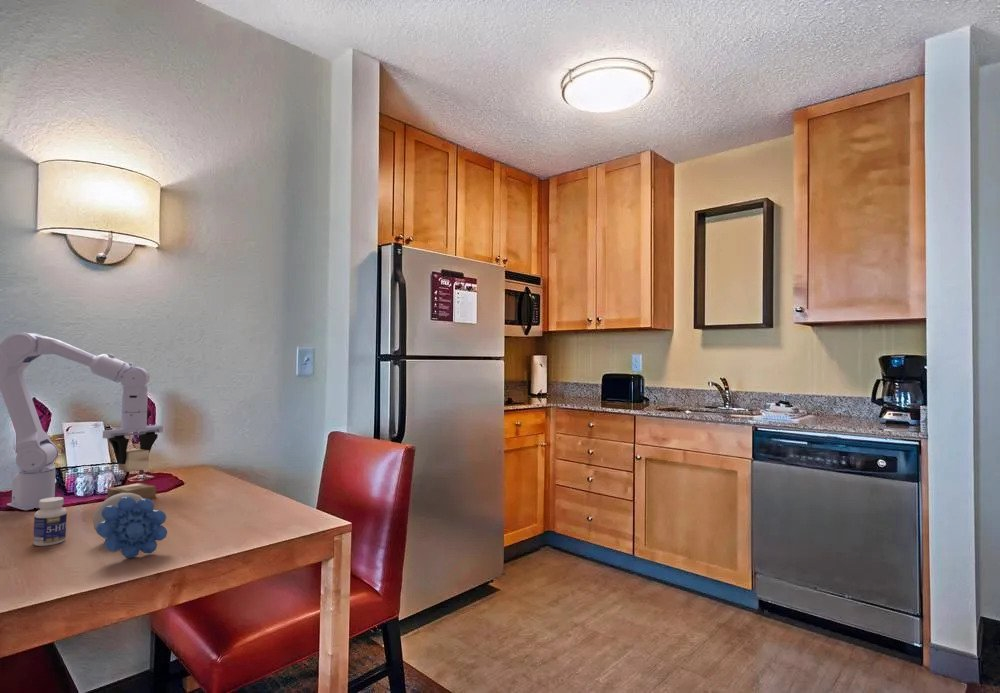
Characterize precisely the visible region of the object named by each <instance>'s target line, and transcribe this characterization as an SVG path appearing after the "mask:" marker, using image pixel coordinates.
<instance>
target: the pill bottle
mask: <svg viewBox="0 0 1000 693" xmlns="http://www.w3.org/2000/svg"><path fill="white" fill-rule="evenodd" d="M64 500H65V499H64V497H62V496H55V497H51V498H45V499H41V500H40V501H39V508H38V510H37V511H36V512H35V513H34V516H33V517H34V518H33V536H32V538H33V539H32V543H33V545H34V546H36V547H47V546H48V547H49V546H53V545H57V544H61V543H63V542H65V541H66V538H67V537H66V536H67V519H68V518H67V516H68V515H67V514H68V511H67V509H66V508H65V507H63V506H64Z"/></svg>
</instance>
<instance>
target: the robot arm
mask: <svg viewBox="0 0 1000 693" xmlns="http://www.w3.org/2000/svg"><path fill="white" fill-rule="evenodd" d="M42 355H55V356H59V357H62V358H64V359H67V360H70V361H73V362H75V363H78V364H80V365H84V366H88V367H89V369H90V371H91V373H92V374H93V375H97V376H99V377H102V378H104V379H107V380H109V381H112V382H113V383H114V382H115V383H117V384H119V383H120V384H121V385H122V386H123V388H122V390H123V391H122V398H121V399H122V402H121V427H119V428H113V429H106V430H105V429H104V430H102V439H105V440H106V439H108V442H109V443H110V444H111V446H112V448H113V449H114V453H115V455H116V459H117V462H118V464H125V463H126V451H127V450H128V444H129V442H130V439H129V438H127V437H130V436H138V441H139V449H144V450H149V454H150V452H151V450H152V447H153V445H154V443H155V442H156V440H157V439H158V438H159V435H158V434H159V433H161V434H162V433H163V431H164V425H161V424H156V425H155V424H154V425H148V424H147V422H148V399H149V398H148V385H147V384H148V383H149V382H150V373H149V371H148V370H146V369H145V368H144V367H142V366H135V365H134V363H135V362H134V363H133V362H131V361H130V362H127V361H123V360H121V359H120V358H119V359H118V358H117V357H116V355H115V354H112V353H109V354H106V353H101V354H98V355H95V354H93V353H90V352H88V351H86V350H83V349H81V348H79V347H76V346H74V345H71V344H69V343H67V342H65V341H62V340H60V339H56V338H54V337H50V336H46V335H42V334H40V333H37V332H24V331H17V332H12V333H10V334H9V335H7V336H6V338H4V339H3V340H2V341H1V342H0V393H1V396H2V398H3V401H4V403H5V406H6V409H7V412H8V415H9V417H10V420H11V423H12V426H13V429H14V431H15V434H16V442H15V448H16V449H15V450H16V458H15V464H16V466H17V468H18V472H17V473H16V474H15V475H14V477H13V478H12V484H11V485H12V486H11V487H12V488H11V489H12V490H11V502H9V503H6V505H7V507H12V508H15V509H19V510H21V511H22V510H23V511H29V510H34V508H36V509H40V508H39V501H40V500H41V499H45V498H51V497H56V495H55V493H56V469H57V468H56V465H55V464H54V462H55V461H56V460H58V459H57V458H58V457H59V454H60V453H59V452H60V451H59V448H58V446H57V445H56V444H55V443H54V442H52V440H51V438H50V436H49V434H48V433H46V431H45V430H44V429H43V426H42V422H41V421H40V418H39V415H38V412H37V409H36V407H35V404H34V400H33V398H32V395H31V392H30V389H29V386H28V384H27V380H26V377H25V375H24V371H25V369H26V368H27V367H28V366H29V365H30V364H31V362H34V360H36V359H37V358H39V357H40V356H42ZM118 464H117V465H118Z"/></svg>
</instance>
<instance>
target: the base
mask: <svg viewBox="0 0 1000 693" xmlns="http://www.w3.org/2000/svg"><path fill="white" fill-rule="evenodd" d="M120 493H133V494H137V495H139V496H141V497H142V498H144V499H150V500H152V499H155V498H156V497H157V486H155V485H152V484H146V483H143V482H136V483H130V484H126V485H125V484H124V485H120V486H115V487H109V488H107V494H106V495H107V498H106V499H108V498H109V497H111V496H113V495H116V494H120Z"/></svg>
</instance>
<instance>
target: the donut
mask: <svg viewBox="0 0 1000 693" xmlns="http://www.w3.org/2000/svg"><path fill="white" fill-rule="evenodd" d="M123 497H132V498H133V499H134V500H135V501H136V504H137V502H138V501H139V500H141V499H143V498H142V497H141V496H139V495H137V494H133V493H120V494H116V495H113V496H111V497H109V498H108V499H107V498H106V499H105V500H104V501H103V502H101V503H100V504H99V506H97V509H96V510H95V512H94V514H93V516H94V517H93V521H92V522H93V529H94V531H95V532H96V533H97V531H96V528H97V525H98V524H99V523H101V522H103V521H106V520H105V519H104V518H103V517H102V511H103V509H104V508H105V507H107V506H109V505H111V506H116V507H118V502H119V500H120V499H121V498H123ZM97 535H98V536H100V535H99V534H98V533H97ZM102 538H103V539H104V540H105V539H106V538H108V537H102Z"/></svg>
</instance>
